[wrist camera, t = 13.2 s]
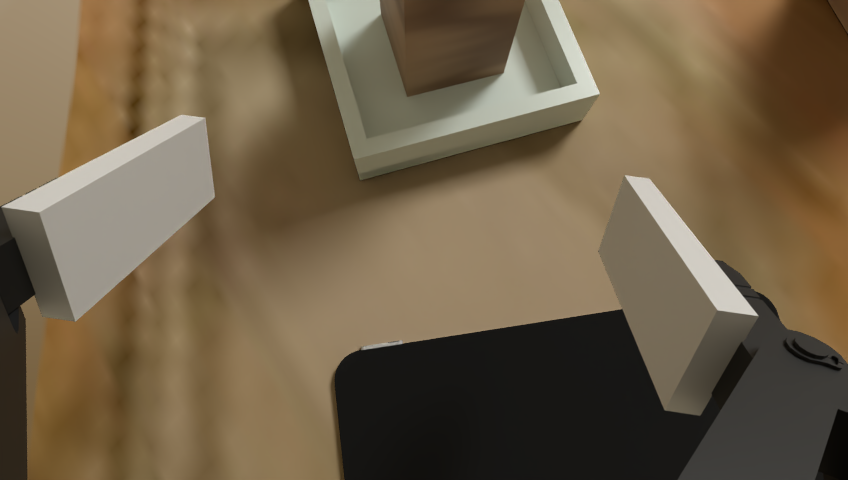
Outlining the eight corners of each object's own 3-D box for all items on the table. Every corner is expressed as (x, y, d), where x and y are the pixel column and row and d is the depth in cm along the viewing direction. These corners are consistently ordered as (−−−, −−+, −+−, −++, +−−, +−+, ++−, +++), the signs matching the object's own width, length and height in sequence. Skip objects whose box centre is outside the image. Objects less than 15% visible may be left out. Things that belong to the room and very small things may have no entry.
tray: (506, -59, 27) (515, -98, 25) (582, 119, 24) (599, 93, 22) (305, -12, 26) (294, -49, 24) (360, 180, 23) (353, 159, 21)
